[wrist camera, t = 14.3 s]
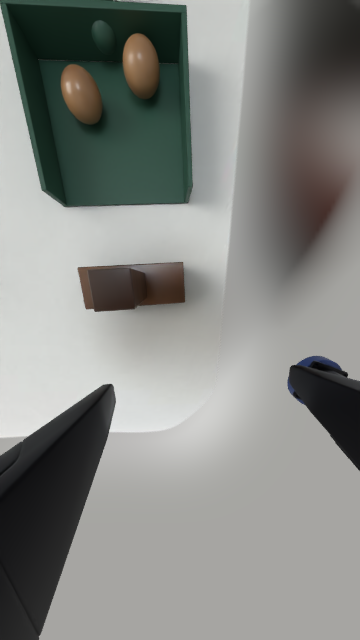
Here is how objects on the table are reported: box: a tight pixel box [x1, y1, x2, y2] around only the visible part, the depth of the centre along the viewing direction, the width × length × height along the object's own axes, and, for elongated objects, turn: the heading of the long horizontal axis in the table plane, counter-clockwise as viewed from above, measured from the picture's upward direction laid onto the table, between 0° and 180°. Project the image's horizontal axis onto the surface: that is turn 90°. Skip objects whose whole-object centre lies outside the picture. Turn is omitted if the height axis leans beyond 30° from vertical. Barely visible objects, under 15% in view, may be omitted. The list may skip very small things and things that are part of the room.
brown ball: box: [123, 33, 160, 99], centre depth 14 cm, size 3×3×3 cm
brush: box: [78, 262, 185, 312], centre depth 14 cm, size 10×4×10 cm, turn 93°
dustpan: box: [0, 0, 193, 207], centre depth 13 cm, size 20×13×3 cm, turn 3°
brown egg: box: [61, 64, 103, 125], centre depth 14 cm, size 3×3×3 cm
